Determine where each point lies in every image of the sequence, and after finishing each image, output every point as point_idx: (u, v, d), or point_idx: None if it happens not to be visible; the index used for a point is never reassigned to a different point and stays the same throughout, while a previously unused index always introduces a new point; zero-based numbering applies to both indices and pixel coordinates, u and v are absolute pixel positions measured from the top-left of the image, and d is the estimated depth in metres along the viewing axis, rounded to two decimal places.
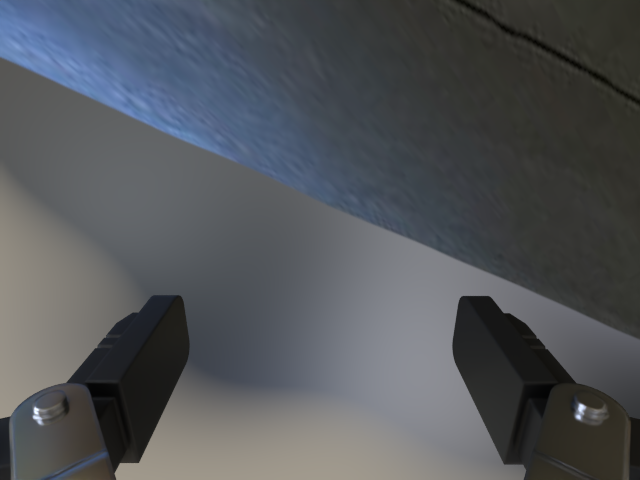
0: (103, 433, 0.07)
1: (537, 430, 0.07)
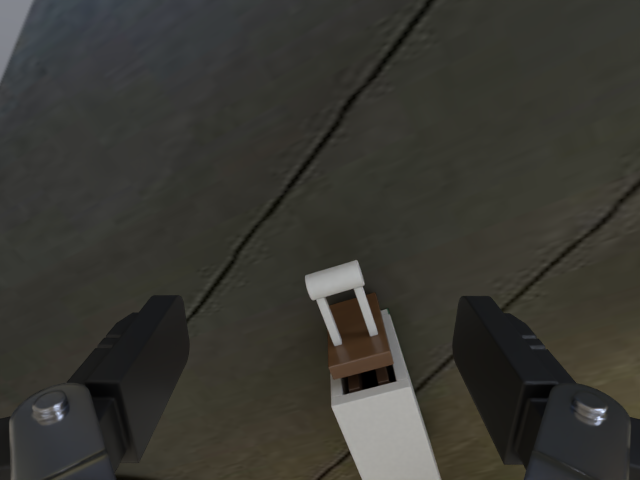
0: (103, 433, 0.07)
1: (537, 430, 0.07)
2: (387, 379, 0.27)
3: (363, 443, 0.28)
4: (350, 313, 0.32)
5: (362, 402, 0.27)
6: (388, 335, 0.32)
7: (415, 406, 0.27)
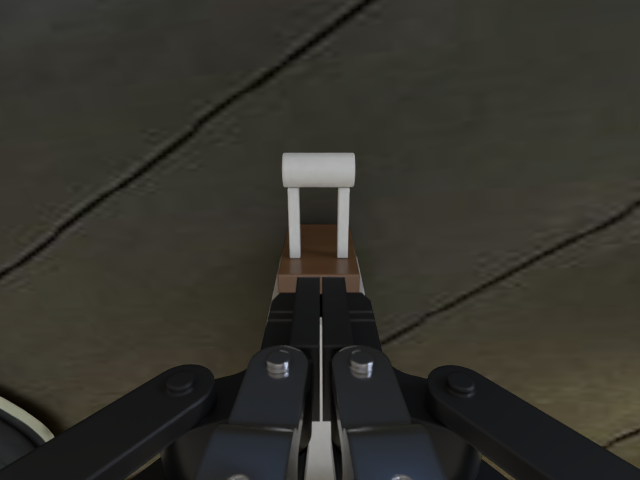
0: (311, 390, 0.08)
1: (331, 386, 0.09)
2: None
3: None
4: (316, 235, 0.26)
5: None
6: None
7: None
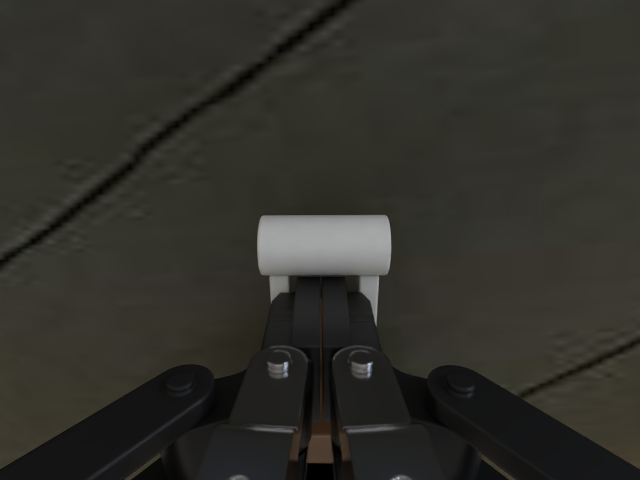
0: (311, 390, 0.08)
1: None
2: None
3: None
4: (320, 323, 0.17)
5: None
6: None
7: None
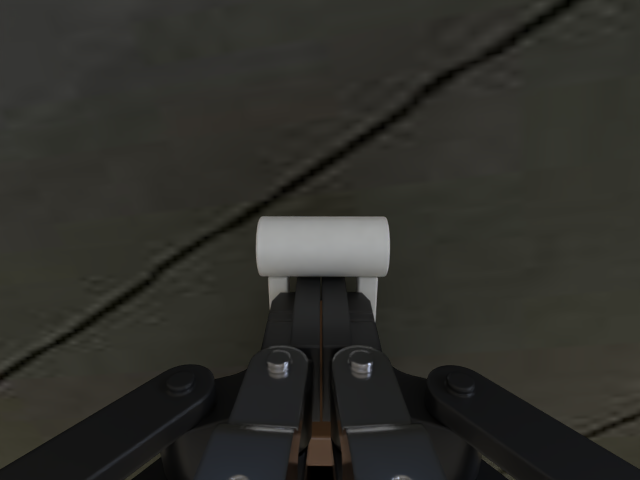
0: (312, 390, 0.08)
1: None
2: None
3: None
4: None
5: None
6: None
7: None
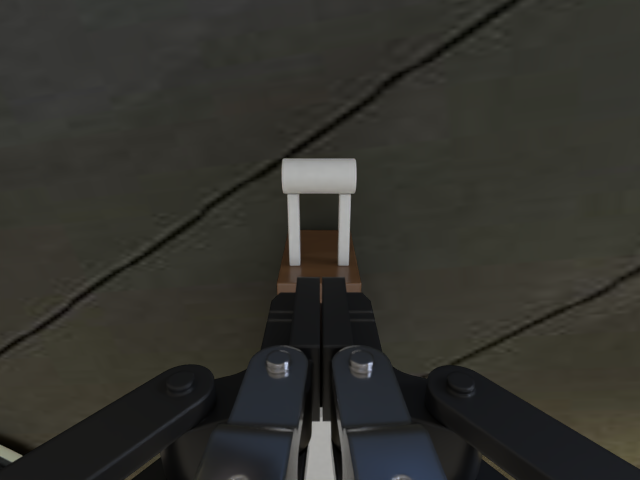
0: (311, 390, 0.08)
1: (331, 386, 0.09)
2: None
3: None
4: (316, 241, 0.25)
5: None
6: None
7: None
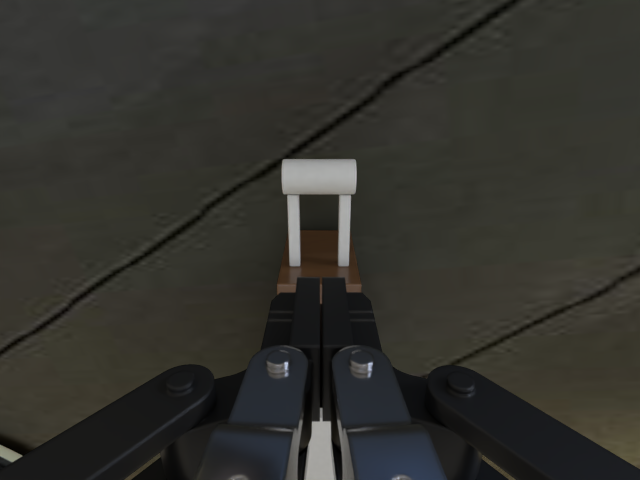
0: (311, 390, 0.08)
1: (331, 386, 0.09)
2: None
3: None
4: (316, 241, 0.25)
5: None
6: None
7: None
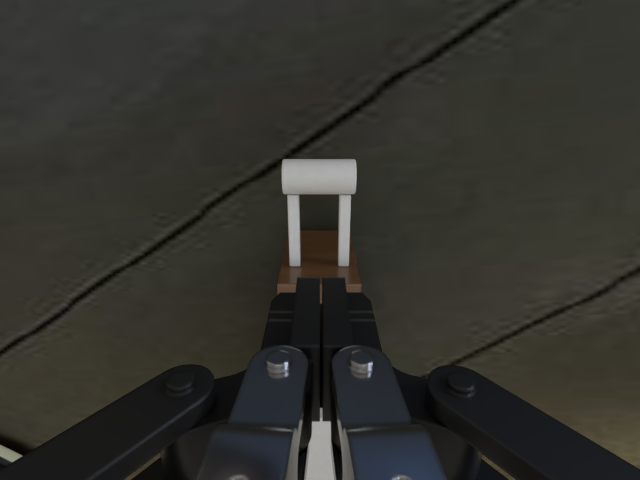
0: (311, 390, 0.08)
1: (331, 386, 0.09)
2: None
3: None
4: (316, 241, 0.25)
5: None
6: None
7: None
